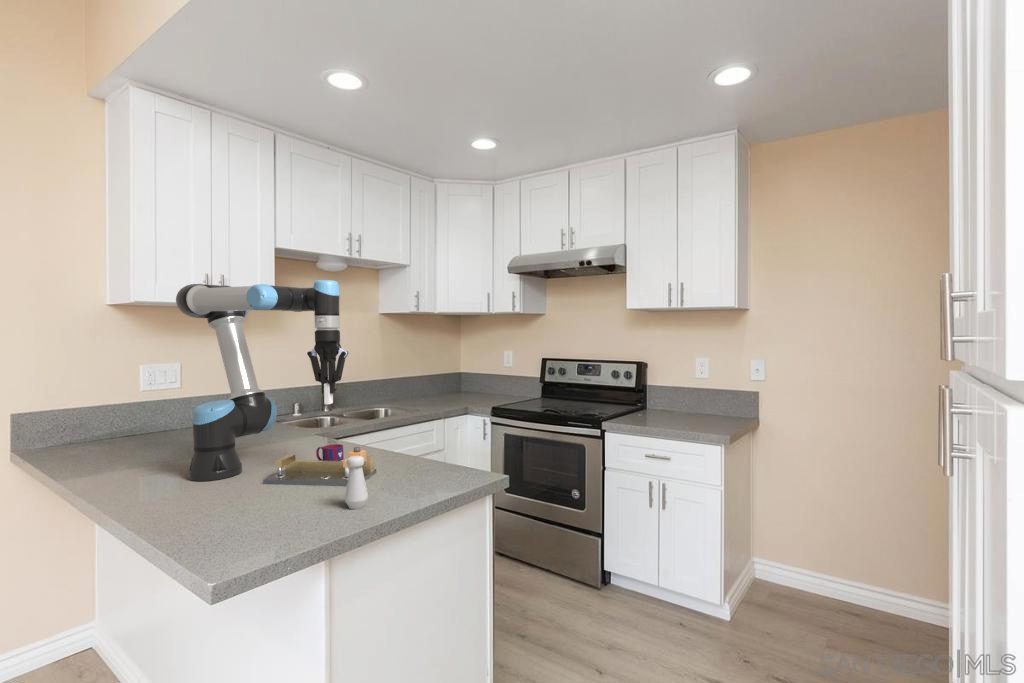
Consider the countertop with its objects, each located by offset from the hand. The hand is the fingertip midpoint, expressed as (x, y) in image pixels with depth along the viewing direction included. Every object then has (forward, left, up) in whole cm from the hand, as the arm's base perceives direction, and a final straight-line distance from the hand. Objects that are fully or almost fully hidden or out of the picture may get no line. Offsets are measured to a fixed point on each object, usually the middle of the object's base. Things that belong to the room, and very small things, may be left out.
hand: (328, 403), depth 163 cm
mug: (-6, +10, -23) cm, 26 cm away
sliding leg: (+9, -3, -21) cm, 23 cm away
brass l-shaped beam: (-1, -3, -22) cm, 22 cm away
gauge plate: (-1, -4, -23) cm, 23 cm away
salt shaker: (+22, -27, -23) cm, 42 cm away
